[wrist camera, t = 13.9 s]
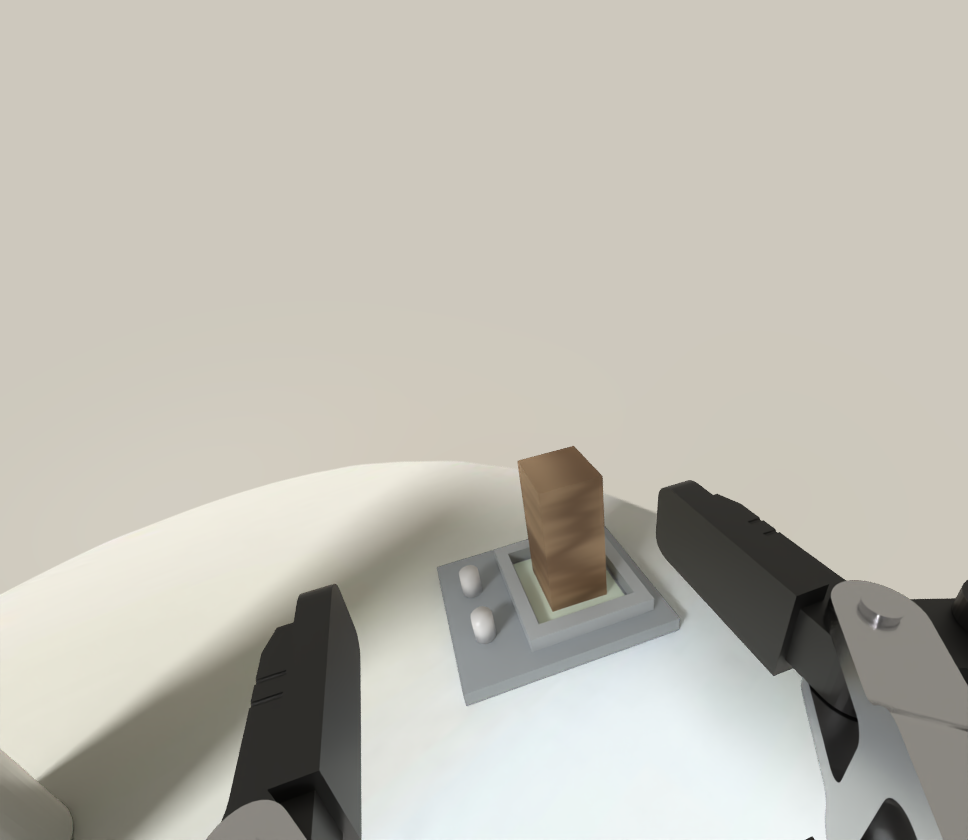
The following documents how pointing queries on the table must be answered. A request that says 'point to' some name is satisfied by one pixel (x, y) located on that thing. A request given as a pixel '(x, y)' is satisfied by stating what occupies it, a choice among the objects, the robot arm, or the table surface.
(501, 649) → the housing
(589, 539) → the block
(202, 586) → the table surface
